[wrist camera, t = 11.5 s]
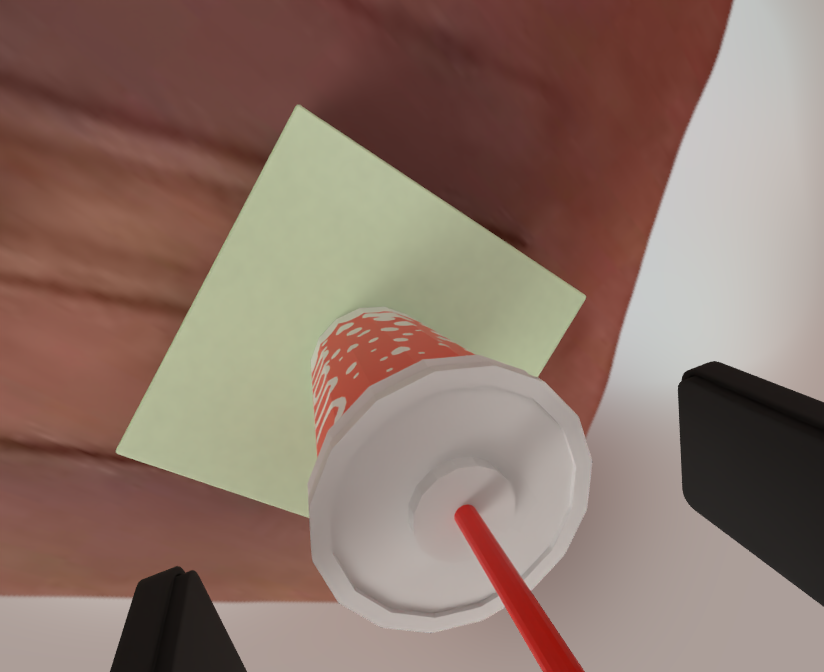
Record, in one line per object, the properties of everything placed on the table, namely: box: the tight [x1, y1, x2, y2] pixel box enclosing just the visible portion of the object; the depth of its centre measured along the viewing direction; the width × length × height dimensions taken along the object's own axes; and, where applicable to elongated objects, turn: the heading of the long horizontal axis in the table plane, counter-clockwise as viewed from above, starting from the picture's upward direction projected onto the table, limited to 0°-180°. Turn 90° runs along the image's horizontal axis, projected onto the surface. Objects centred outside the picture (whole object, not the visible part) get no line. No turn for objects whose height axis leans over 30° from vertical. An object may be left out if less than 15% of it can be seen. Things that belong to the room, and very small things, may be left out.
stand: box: [116, 105, 586, 518], centre depth 21 cm, size 13×13×7 cm
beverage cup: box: [307, 307, 592, 672], centre depth 12 cm, size 6×6×14 cm
